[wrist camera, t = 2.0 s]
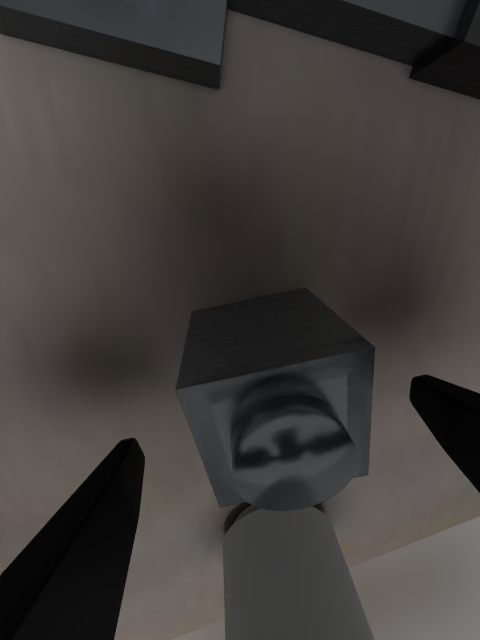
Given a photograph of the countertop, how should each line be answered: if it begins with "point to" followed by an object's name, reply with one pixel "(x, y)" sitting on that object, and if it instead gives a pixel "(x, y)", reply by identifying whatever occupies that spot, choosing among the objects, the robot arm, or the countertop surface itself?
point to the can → (288, 579)
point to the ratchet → (266, 4)
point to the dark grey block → (277, 400)
